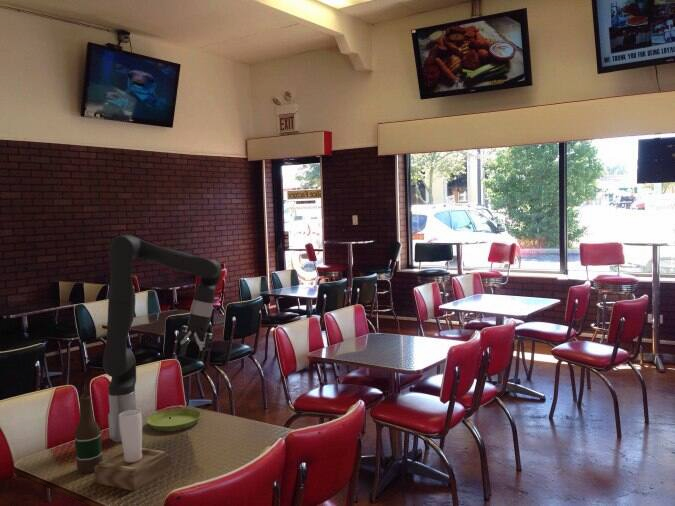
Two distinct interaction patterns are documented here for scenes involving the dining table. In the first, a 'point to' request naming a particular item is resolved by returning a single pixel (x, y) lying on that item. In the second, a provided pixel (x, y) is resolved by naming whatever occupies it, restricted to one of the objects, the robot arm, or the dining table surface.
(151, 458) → the wooden box
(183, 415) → the saucer
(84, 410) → the beer bottle
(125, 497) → the dining table surface
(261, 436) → the dining table surface
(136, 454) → the drinking glass
